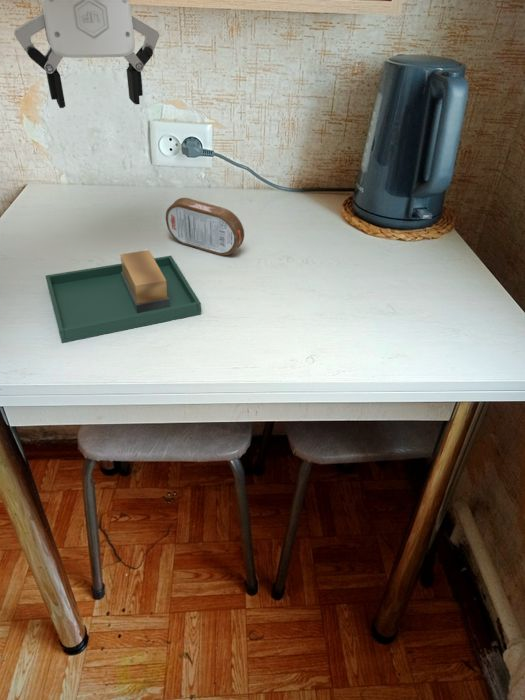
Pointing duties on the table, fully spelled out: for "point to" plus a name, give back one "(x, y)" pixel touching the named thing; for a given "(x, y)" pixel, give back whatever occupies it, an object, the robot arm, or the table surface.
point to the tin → (204, 226)
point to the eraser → (144, 281)
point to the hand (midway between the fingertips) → (98, 103)
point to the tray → (113, 301)
